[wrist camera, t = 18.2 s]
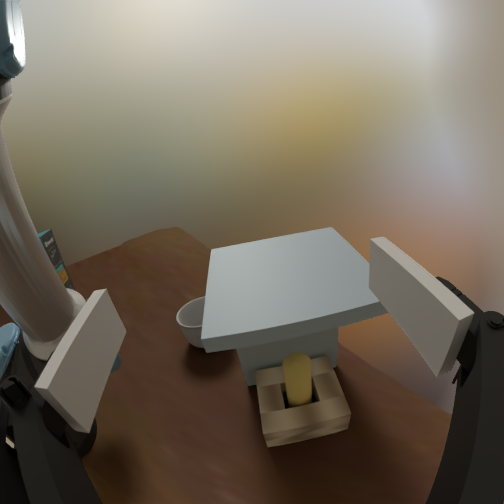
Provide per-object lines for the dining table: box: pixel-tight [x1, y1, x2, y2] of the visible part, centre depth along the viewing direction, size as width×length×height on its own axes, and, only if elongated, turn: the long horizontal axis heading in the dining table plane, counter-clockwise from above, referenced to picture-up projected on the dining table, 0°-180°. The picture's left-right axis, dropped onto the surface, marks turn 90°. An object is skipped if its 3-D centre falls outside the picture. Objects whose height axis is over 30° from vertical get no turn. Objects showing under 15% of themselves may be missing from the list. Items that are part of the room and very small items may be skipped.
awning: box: [201, 227, 389, 386], centre depth 32 cm, size 16×17×26 cm
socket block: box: [255, 355, 351, 447], centre depth 36 cm, size 12×12×5 cm
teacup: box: [176, 296, 206, 348], centre depth 56 cm, size 14×11×8 cm
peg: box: [283, 352, 312, 408], centre depth 35 cm, size 4×4×12 cm
